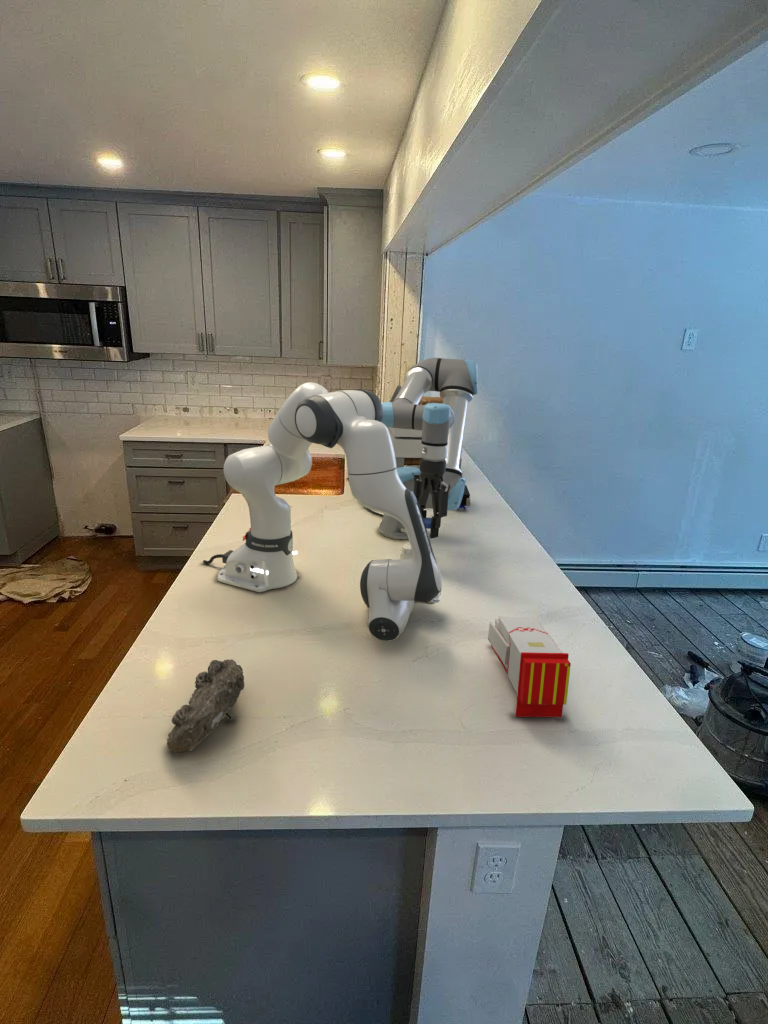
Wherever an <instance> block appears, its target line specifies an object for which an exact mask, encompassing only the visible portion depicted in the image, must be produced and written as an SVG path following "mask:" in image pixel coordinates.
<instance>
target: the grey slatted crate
mask: <svg viewBox="0 0 768 1024" xmlns="http://www.w3.org/2000/svg"><path fill="white" fill-rule="evenodd" d="M401 388H402V385H399V384H398V385H397V386H396V388H395V390H394V392H393V394H392V395H391V398H390V400H389V401H388V402H393V401H394V400H395V398H396V396H397V395H398V393H399V391H400V390H401ZM428 403H442V404H443V399H442V398H441V397H440V396H423V397H422V399H421V400H420V402H419V404H418V405H426V404H428ZM387 428H388V430H389V433H390V436H391V440H392V443H393V447H394V452H395V457H396V464H397V468H401V467H405V466H406V467H417V466H418V467H420V459H421V458H422V457H421V456H420V455H421V441H422V430H413V429H400V428H390V427H387ZM463 442H464V440H462V444H463ZM462 453H463V446H462V447H461V455H460V462H459V469H460V470H461V471H462V461H463V460H462Z"/></svg>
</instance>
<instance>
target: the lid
mask: <svg viewBox="0 0 768 1024" xmlns="http://www.w3.org/2000/svg"><path fill="white" fill-rule="evenodd" d="M423 520H424V523H425V526H426V530H427V529H428V530H430V529H431V517H426V518H423Z"/></svg>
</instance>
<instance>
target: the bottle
mask: <svg viewBox="0 0 768 1024" xmlns="http://www.w3.org/2000/svg"><path fill="white" fill-rule="evenodd" d="M413 558H414V556H413V552H412V549H411V545H410V543H404V544H402V545H401V549H400V551H399V559H413Z"/></svg>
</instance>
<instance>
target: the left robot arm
mask: <svg viewBox="0 0 768 1024" xmlns="http://www.w3.org/2000/svg"><path fill="white" fill-rule="evenodd" d="M382 418H383V407H382V401H381V399H380V397H379V396H378V394H376V393H375V392H373V391H371V390H367V389H364V388H363V389H362V388H355V389H342V390H341V389H340V390H334V391H328V390H327V388H325V387H324V386H323V385H321V384H320V383H317V382H313V381H309V382H304V383H301V384H300V385H298V387H297V388H295V389H294V390H293V392H291V394H290V395H289V396H288V397H287V398H286V400H285V401H284V402H283V404H282V405H281V407H280V408H279V410H278V411H277V413H276V415H275V416H274V418H273V420H272V421H271V423H270V424H269V426H268V427H267V428H268V429H267V437H268V441H269V443H268V444H265V445H261V446H254V447H249V448H243V449H241V450H238V451H236V452H234V453H231V454H229V455H227V457H226V458H225V461H224V463H223V468H222V470H223V476H224V479H225V482H227V484H228V486H229V487H231V488H232V489H233V490H235V491H237V493H239V494H240V495H241V496H242V497H243V498H244V500H245V502H246V504H247V507H248V512H249V521H250V528H248V531H246V532H245V533H244V535H243V536H242V541H243V542H244V541H245V542H244V543H243V544H241V545H240V546H238V547H237V548H235V550H231V549H229V550H228V551H226V552H224V553H222V554H221V553H219V554H218V553H217V554H214V555H212V556H211V557H210V558H209V560H206V559H203V560H202V563H203V564H205V565H210V564H212V563H213V561H214V560H215V559H220V558H221V559H222V564H225V565H224V566H223V567H222V568H221V569H220V570H219V572H218V573H217V581H218V582H219V583H223V584H227V585H230V586H235V587H239V588H242V589H246V590H249V591H252V592H256V593H265V592H266V591H269V590H273V589H274V590H275V589H281V588H284V587H287V586H290V585H292V584H294V583H295V582H296V581H297V579H298V573H297V571H296V566H295V562H294V557H293V556H295V555H298V550H294V551H293V549H294V538H293V537H294V535H293V534H294V533H293V530H292V512H291V511H292V509H291V506H290V504H289V503H288V502H287V501H286V500H285V499H284V498H282V497H280V496H277V495H276V493H275V487H276V486H279V485H283V484H288V483H291V482H295V481H297V480H300V479H301V478H303V477H305V476H307V475H308V474H310V472H311V469H312V465H313V457H312V454H311V452H310V450H309V448H310V447H311V445H312V444H316V445H321V446H323V447H326V448H329V449H333V448H334V447H335V446H336V445H338V446H340V447H341V448H342V451H343V452H344V454H345V458H346V468H347V476H348V477H347V478H349V480H348V483H349V489H350V492H351V495H352V497H353V498H354V499H355V501H356V502H358V503H359V505H361V506H363V507H364V508H365V507H366V508H368V509H370V510H372V511H374V512H377V513H379V514H382V515H384V514H386V515H388V516H391V517H393V518H395V519H397V520H398V521H400V522H401V523H402V524H403V526H404V527H405V529H406V532H407V535H408V539H409V540H408V542H409V544H410V545H411V549H412V552H413V556H414V558H413V559H400V558H399V559H398V558H395V559H394V558H393V559H392V558H387V559H383V558H382V559H372V560H370V561H369V562H368V563H367V564H366V566H365V567H364V569H363V570H362V573H361V575H360V580H359V588H360V596H361V598H362V601H363V603H364V605H365V606H366V607H367V608H368V610H369V614H368V619H367V620H368V621H367V627H368V631H369V633H370V635H371V636H373V637H374V638H375V639H377V640H379V641H383V642H388V641H389V642H391V641H394V640H396V639H398V638H399V637H400V636H401V635H402V634H403V632H404V631H405V628H406V626H407V624H408V622H409V619H410V614H411V613H412V611H413V609H414V606H415V603H416V604H421V605H422V604H423V605H427V606H428V605H429V606H430V605H431V606H432V605H435V604H438V603H440V602H441V595H442V588H443V584H442V583H443V579H442V572H441V570H440V567H439V565H438V562H437V559H436V557H435V554H434V551H433V548H432V547H433V546H432V544H431V541H430V536H429V534H428V530H427V529H426V526H425V523H424V520H423V516H422V513H421V510H420V507H419V504H418V501H417V499H416V497H415V495H414V493H413V491H411V490H409V489H407V488H406V487H405V486H404V485H403V483H402V482H401V480H400V478H399V475H398V471H397V464H396V457H395V452H394V447H393V443H392V440H391V436H390V433H389V430H388V428H387V427H386V425H385V424H383V423H382V422H381V421H382ZM366 508H365V509H366Z"/></svg>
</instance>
